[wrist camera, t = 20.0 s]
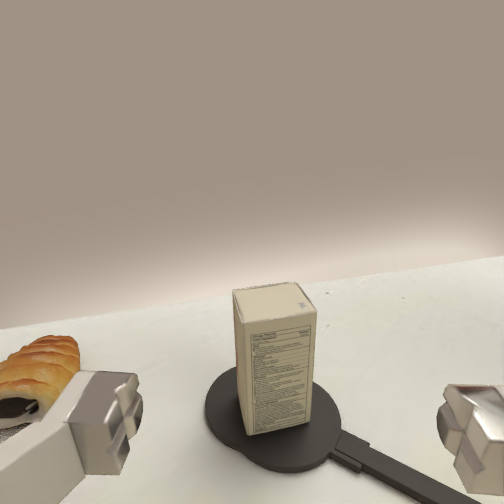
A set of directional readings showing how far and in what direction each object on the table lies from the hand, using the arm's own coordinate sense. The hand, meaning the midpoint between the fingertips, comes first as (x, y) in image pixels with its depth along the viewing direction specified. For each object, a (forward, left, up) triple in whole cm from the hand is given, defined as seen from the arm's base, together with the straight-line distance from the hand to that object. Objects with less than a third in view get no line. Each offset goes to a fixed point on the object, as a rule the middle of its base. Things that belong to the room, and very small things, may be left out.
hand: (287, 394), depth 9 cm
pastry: (+20, -14, -16) cm, 29 cm away
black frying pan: (-5, -10, -16) cm, 19 cm away
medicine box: (0, -13, -15) cm, 20 cm away
